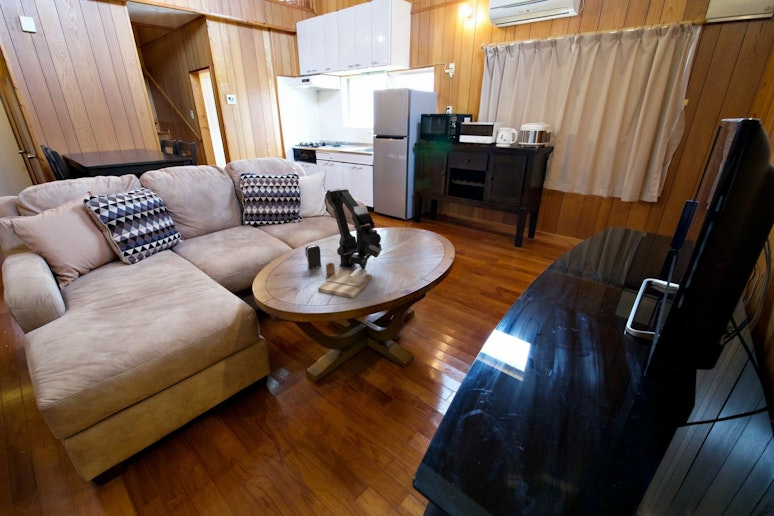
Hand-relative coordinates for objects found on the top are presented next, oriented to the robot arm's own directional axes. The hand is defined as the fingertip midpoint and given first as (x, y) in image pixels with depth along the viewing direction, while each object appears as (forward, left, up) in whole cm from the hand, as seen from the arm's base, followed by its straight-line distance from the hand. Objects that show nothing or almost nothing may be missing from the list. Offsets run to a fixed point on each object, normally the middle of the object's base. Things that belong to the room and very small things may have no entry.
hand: (363, 269), depth 157 cm
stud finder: (0, -6, -1) cm, 6 cm away
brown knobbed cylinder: (-15, -6, -3) cm, 16 cm away
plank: (-4, -11, -3) cm, 12 cm away
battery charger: (-28, 0, -3) cm, 28 cm away
